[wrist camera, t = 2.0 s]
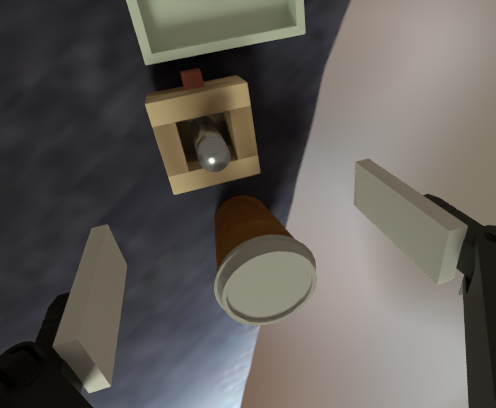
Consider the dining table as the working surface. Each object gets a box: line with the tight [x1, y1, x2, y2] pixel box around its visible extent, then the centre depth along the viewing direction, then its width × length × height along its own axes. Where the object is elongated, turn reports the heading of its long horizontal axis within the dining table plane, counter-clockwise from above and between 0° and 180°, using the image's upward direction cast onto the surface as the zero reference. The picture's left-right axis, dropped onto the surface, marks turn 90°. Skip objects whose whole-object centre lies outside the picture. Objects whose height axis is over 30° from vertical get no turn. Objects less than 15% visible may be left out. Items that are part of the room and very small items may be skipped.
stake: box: [177, 112, 231, 172], centre depth 27 cm, size 7×7×9 cm
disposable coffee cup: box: [214, 195, 317, 326], centre depth 33 cm, size 10×10×12 cm
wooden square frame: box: [145, 68, 260, 195], centre depth 28 cm, size 8×9×4 cm
